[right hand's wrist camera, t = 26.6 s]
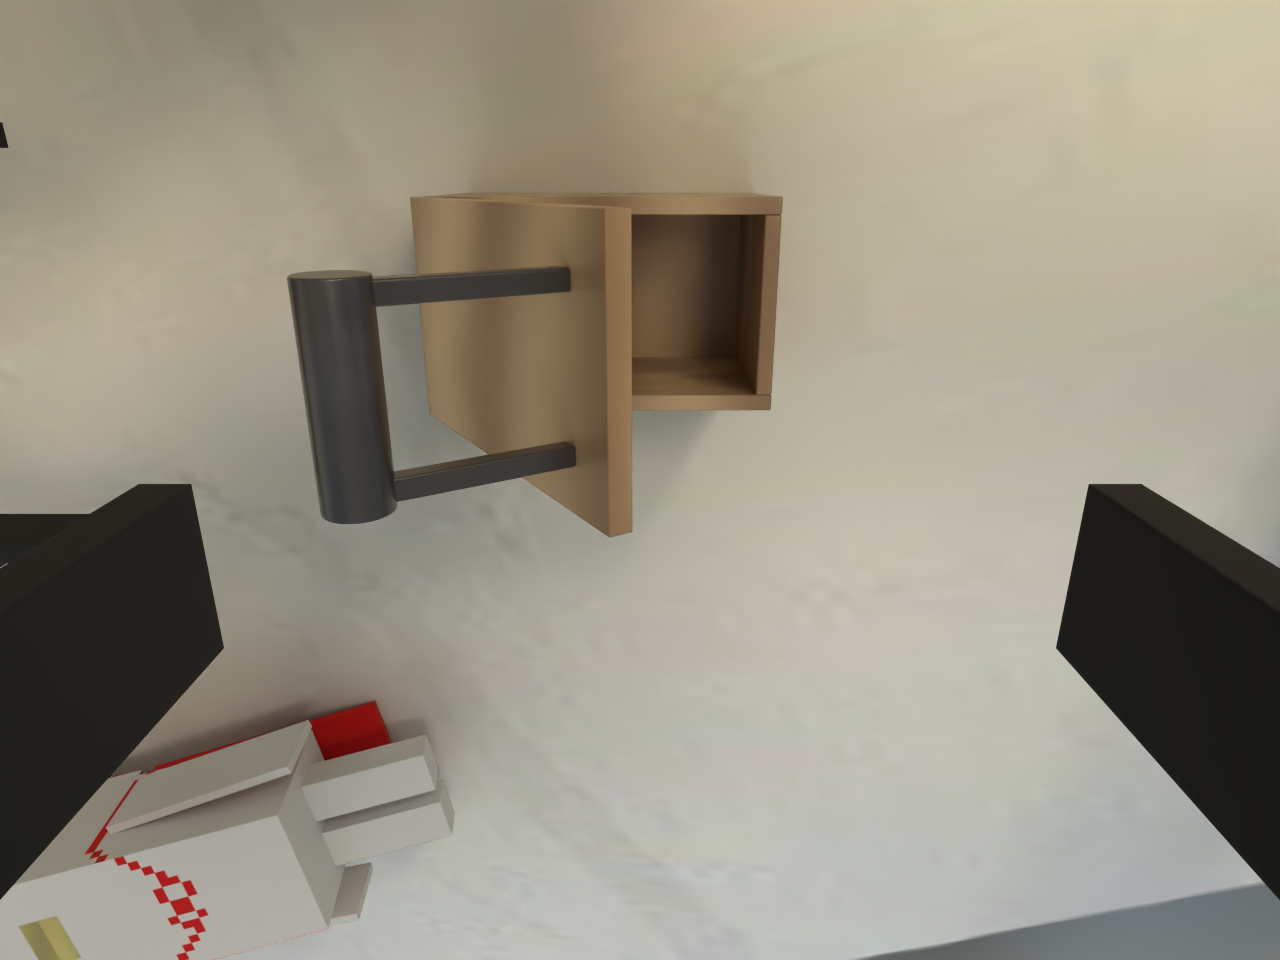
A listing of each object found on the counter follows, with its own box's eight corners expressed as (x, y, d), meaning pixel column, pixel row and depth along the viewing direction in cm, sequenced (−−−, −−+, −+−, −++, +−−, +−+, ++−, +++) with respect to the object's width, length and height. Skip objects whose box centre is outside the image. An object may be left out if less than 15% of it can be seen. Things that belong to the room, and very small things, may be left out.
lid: (632, 207, 22) (298, 214, 18) (633, 532, 25) (350, 603, 21) (429, 197, 35) (208, 199, 31) (447, 411, 38) (249, 440, 34)
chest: (754, 193, 44) (782, 196, 35) (746, 367, 47) (770, 410, 39) (465, 193, 44) (422, 196, 35) (477, 367, 47) (440, 410, 38)
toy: (458, 925, 49) (-54, 1067, 47) (471, 779, 62) (67, 887, 60) (396, 761, 45) (-166, 909, 43) (424, 641, 58) (-11, 752, 56)
